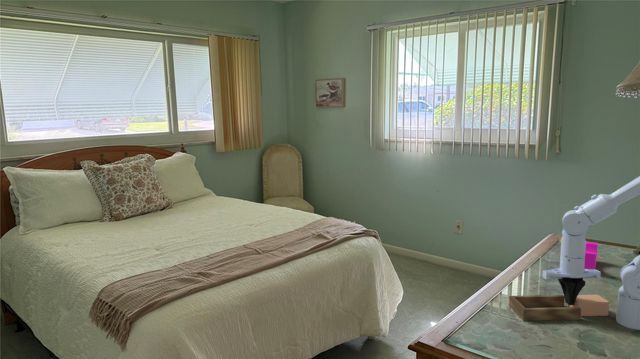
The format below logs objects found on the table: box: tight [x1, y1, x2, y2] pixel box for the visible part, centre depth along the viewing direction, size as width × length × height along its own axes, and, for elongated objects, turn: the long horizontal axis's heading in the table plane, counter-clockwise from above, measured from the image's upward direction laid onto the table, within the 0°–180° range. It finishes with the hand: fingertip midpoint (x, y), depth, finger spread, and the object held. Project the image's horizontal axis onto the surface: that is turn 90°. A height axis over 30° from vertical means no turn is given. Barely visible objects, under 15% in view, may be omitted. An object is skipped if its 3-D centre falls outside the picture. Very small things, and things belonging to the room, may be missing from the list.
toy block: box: [584, 241, 599, 269], centre depth 155 cm, size 15×6×8 cm, turn 146°
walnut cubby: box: [508, 294, 582, 322], centre depth 121 cm, size 15×9×3 cm, turn 90°
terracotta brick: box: [567, 294, 610, 317], centre depth 121 cm, size 8×5×4 cm, turn 90°
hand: (569, 303), depth 121 cm, fingers closed
